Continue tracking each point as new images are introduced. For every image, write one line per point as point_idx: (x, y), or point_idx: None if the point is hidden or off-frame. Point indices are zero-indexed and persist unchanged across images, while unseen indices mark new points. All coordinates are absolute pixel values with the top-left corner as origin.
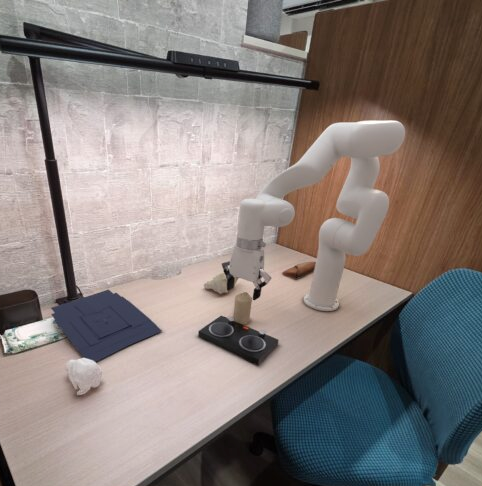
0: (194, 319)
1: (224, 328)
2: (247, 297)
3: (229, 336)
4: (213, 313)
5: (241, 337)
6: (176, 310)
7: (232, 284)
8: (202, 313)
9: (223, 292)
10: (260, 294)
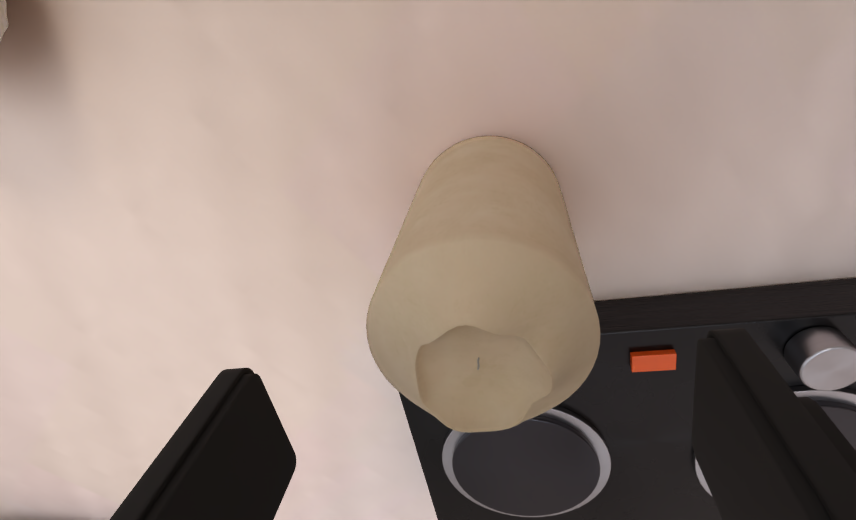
0: (287, 405)
1: (541, 463)
2: (560, 388)
3: (613, 477)
4: (284, 285)
5: (686, 445)
6: (149, 406)
7: (237, 461)
8: (248, 334)
9: (5, 2)
10: (830, 425)
